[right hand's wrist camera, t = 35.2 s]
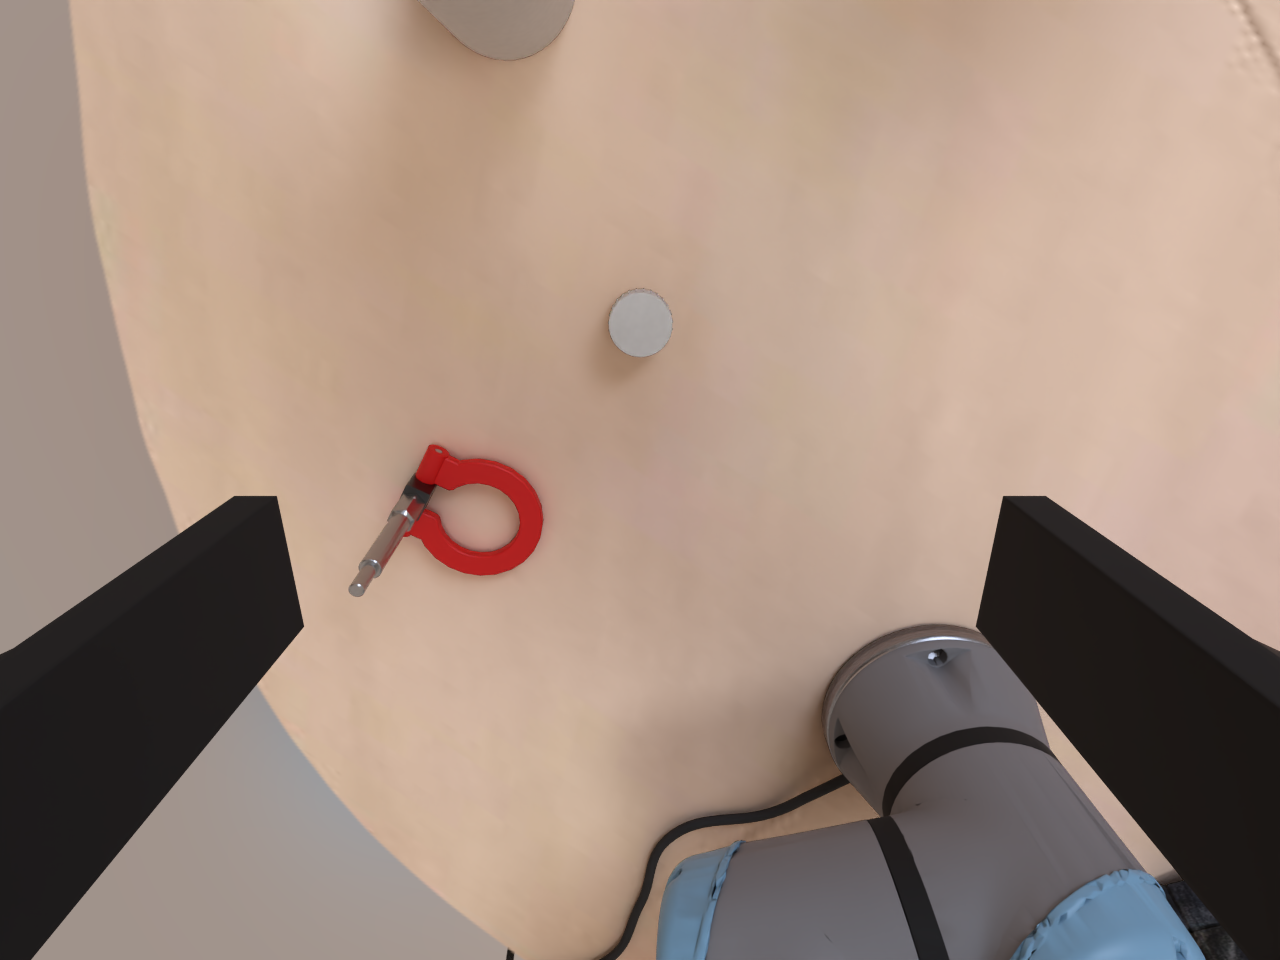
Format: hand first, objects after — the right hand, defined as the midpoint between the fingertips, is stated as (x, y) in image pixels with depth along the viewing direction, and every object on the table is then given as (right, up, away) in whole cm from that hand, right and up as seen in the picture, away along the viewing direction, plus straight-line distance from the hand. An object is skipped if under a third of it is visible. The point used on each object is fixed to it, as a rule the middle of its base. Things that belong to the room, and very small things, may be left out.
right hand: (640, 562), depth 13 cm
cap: (0, +11, +27) cm, 29 cm away
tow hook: (-11, -1, +34) cm, 35 cm away
